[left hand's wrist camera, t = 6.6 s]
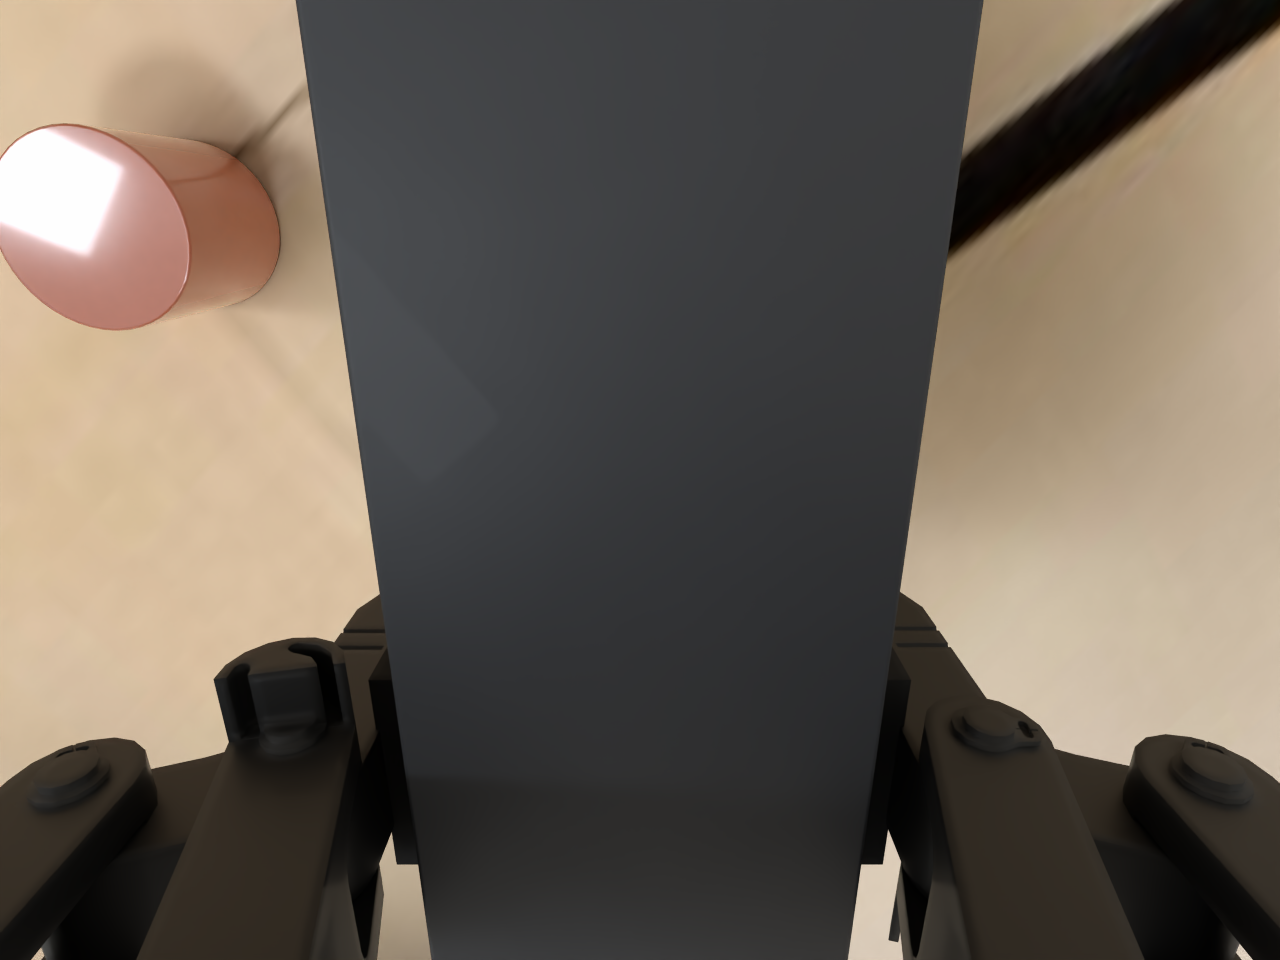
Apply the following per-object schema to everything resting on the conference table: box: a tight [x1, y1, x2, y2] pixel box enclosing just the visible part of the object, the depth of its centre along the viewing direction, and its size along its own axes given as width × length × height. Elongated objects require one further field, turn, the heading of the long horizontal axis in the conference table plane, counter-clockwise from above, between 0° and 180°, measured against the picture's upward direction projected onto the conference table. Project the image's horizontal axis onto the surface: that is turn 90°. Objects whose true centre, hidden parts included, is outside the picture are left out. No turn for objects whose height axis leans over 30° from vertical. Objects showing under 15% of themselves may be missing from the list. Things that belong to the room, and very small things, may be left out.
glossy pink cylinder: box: [0, 123, 280, 331], centre depth 21 cm, size 5×5×5 cm
